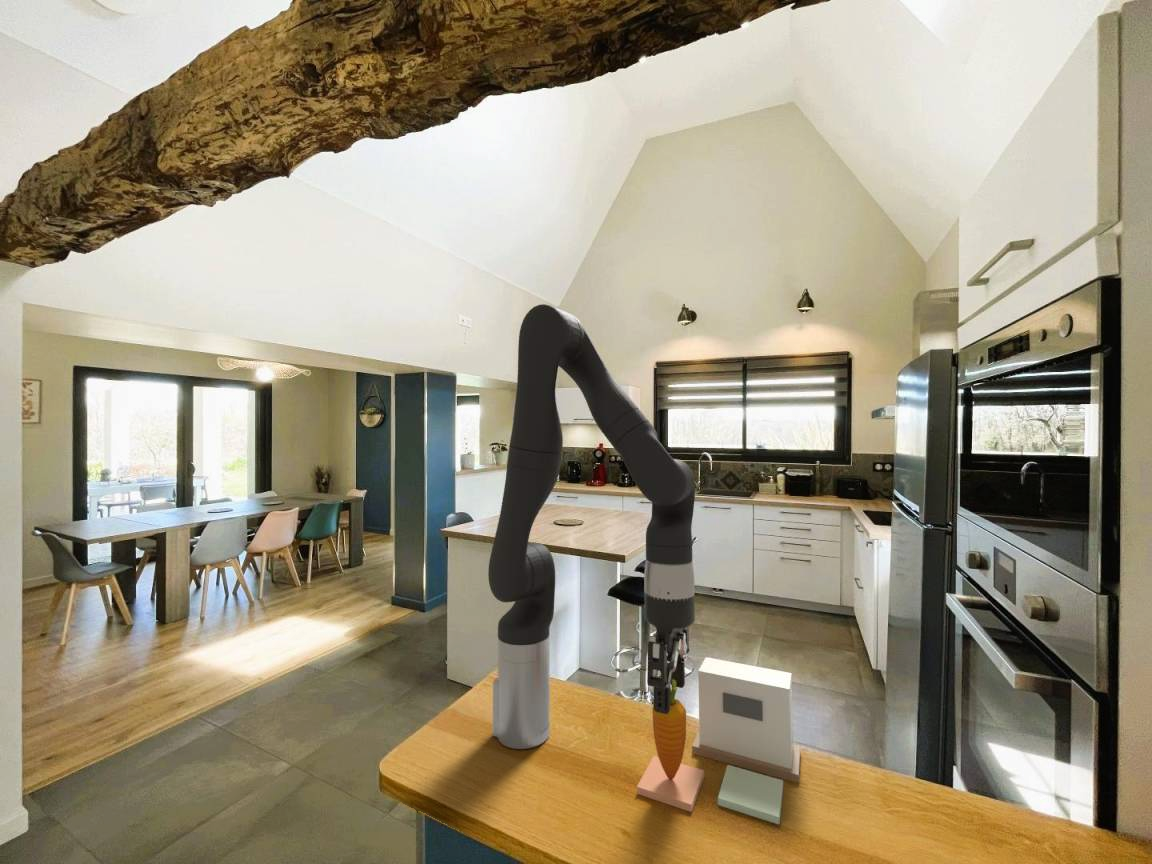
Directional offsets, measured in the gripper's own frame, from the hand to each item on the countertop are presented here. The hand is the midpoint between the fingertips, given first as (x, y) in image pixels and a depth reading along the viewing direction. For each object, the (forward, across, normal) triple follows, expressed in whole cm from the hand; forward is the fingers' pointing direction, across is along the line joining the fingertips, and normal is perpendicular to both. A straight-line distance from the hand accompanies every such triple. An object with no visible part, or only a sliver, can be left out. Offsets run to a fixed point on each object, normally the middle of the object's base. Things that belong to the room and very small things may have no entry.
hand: (670, 698), depth 72 cm
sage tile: (+13, +3, -11) cm, 17 cm away
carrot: (+12, 0, 0) cm, 12 cm away
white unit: (+13, +13, -9) cm, 20 cm away
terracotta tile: (+13, 0, 0) cm, 13 cm away
